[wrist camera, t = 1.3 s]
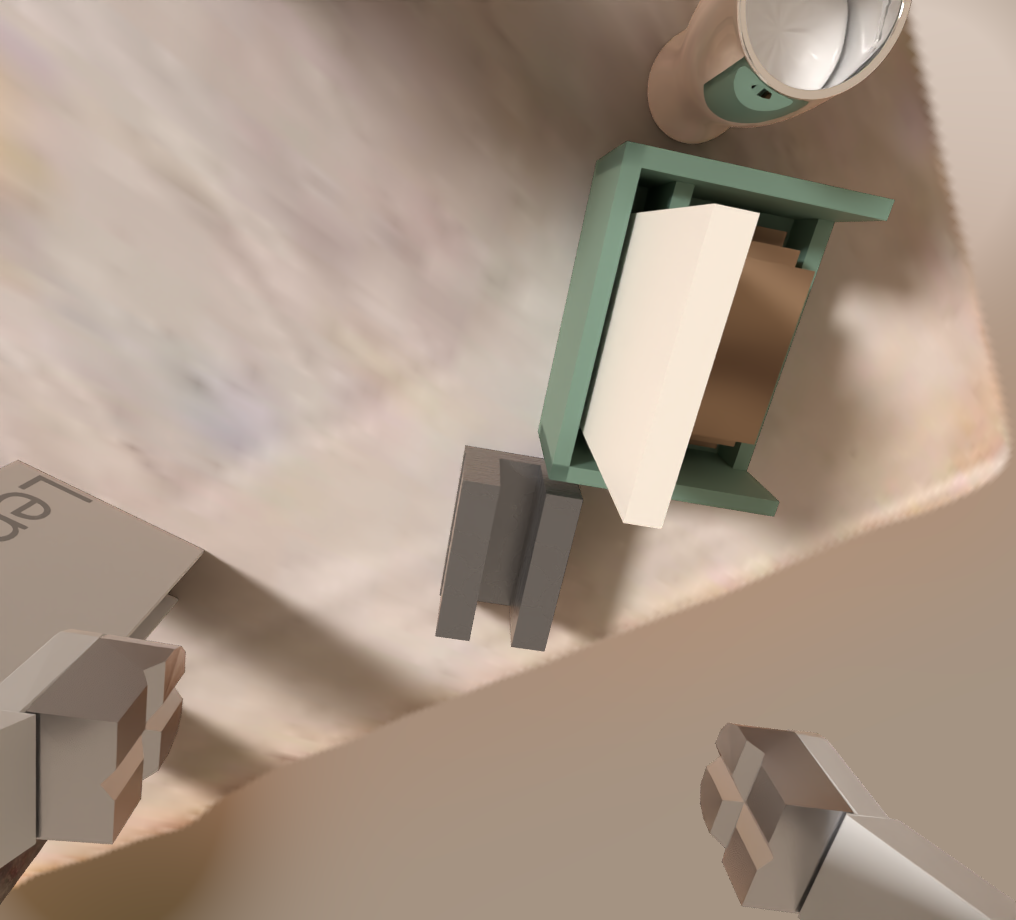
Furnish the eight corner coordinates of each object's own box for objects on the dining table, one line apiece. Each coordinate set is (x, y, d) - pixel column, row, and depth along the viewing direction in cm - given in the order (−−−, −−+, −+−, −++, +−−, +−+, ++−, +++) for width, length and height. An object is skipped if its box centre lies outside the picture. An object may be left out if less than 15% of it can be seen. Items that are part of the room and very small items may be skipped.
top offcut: (694, 248, 34) (708, 249, 32) (794, 269, 35) (815, 271, 32) (647, 415, 37) (657, 427, 35) (738, 432, 38) (754, 444, 36)
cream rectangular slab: (609, 216, 38) (714, 203, 20) (634, 221, 38) (760, 213, 20) (567, 398, 42) (623, 522, 24) (589, 402, 42) (661, 529, 24)
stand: (465, 445, 44) (461, 479, 38) (572, 463, 45) (584, 500, 39) (441, 584, 48) (433, 636, 42) (539, 599, 49) (545, 651, 43)
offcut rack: (596, 160, 38) (627, 140, 29) (807, 206, 39) (894, 199, 30) (537, 431, 44) (549, 479, 35) (721, 463, 45) (773, 516, 37)
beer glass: (622, 132, 37) (703, 72, 23) (663, 1, 35) (780, -155, 21) (726, 167, 38) (865, 129, 24) (773, 41, 35) (957, -83, 21)
